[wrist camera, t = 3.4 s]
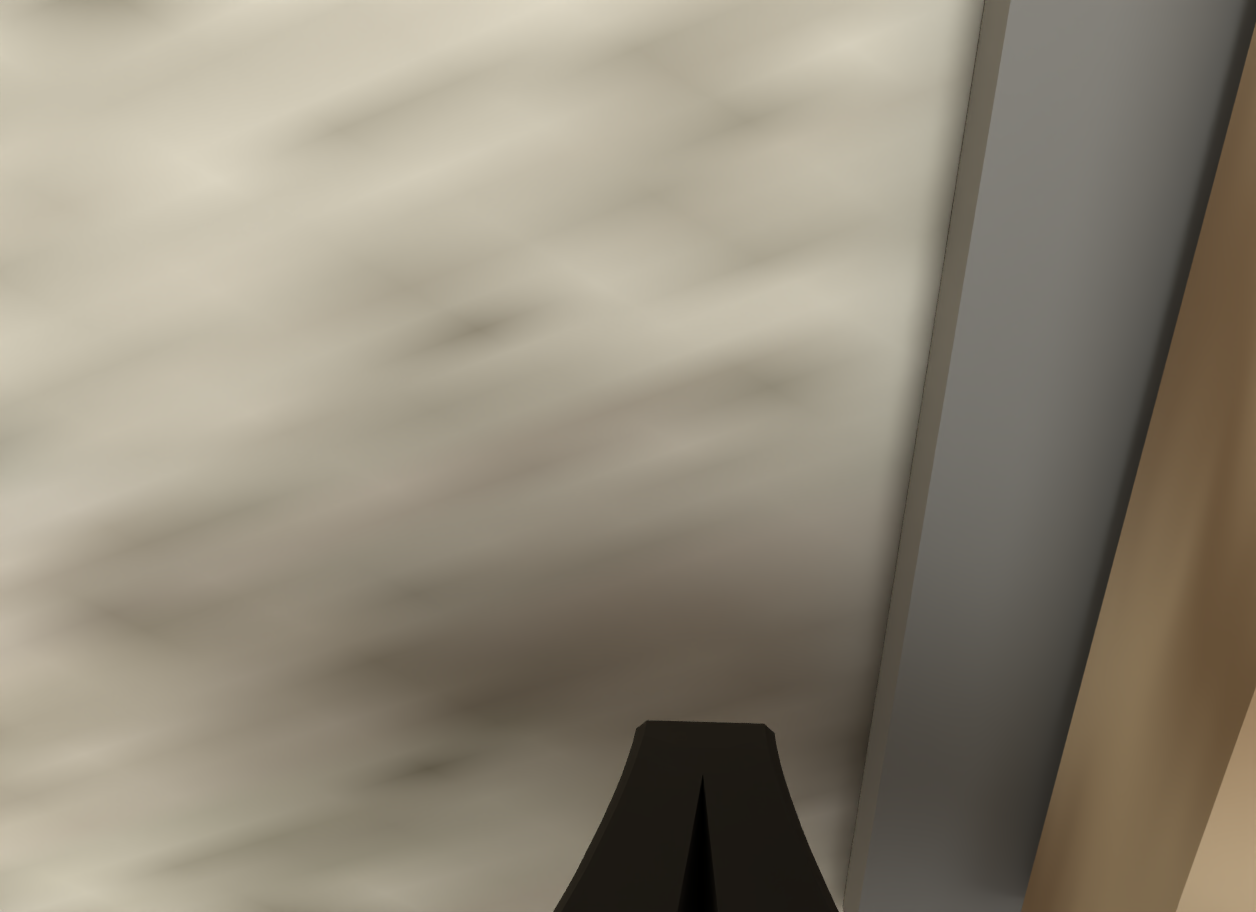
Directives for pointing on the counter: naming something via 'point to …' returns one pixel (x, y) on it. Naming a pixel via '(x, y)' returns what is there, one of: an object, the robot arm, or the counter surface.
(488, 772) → the counter surface
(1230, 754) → the link
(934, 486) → the base plate
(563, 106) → the counter surface
